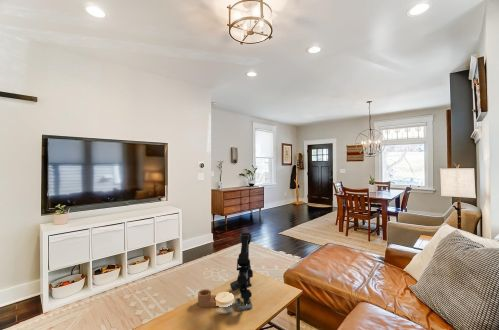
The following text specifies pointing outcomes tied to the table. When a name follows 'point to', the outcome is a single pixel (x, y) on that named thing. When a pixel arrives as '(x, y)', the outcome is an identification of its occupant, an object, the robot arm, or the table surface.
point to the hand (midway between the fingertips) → (243, 301)
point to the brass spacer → (241, 301)
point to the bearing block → (243, 307)
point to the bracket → (206, 298)
